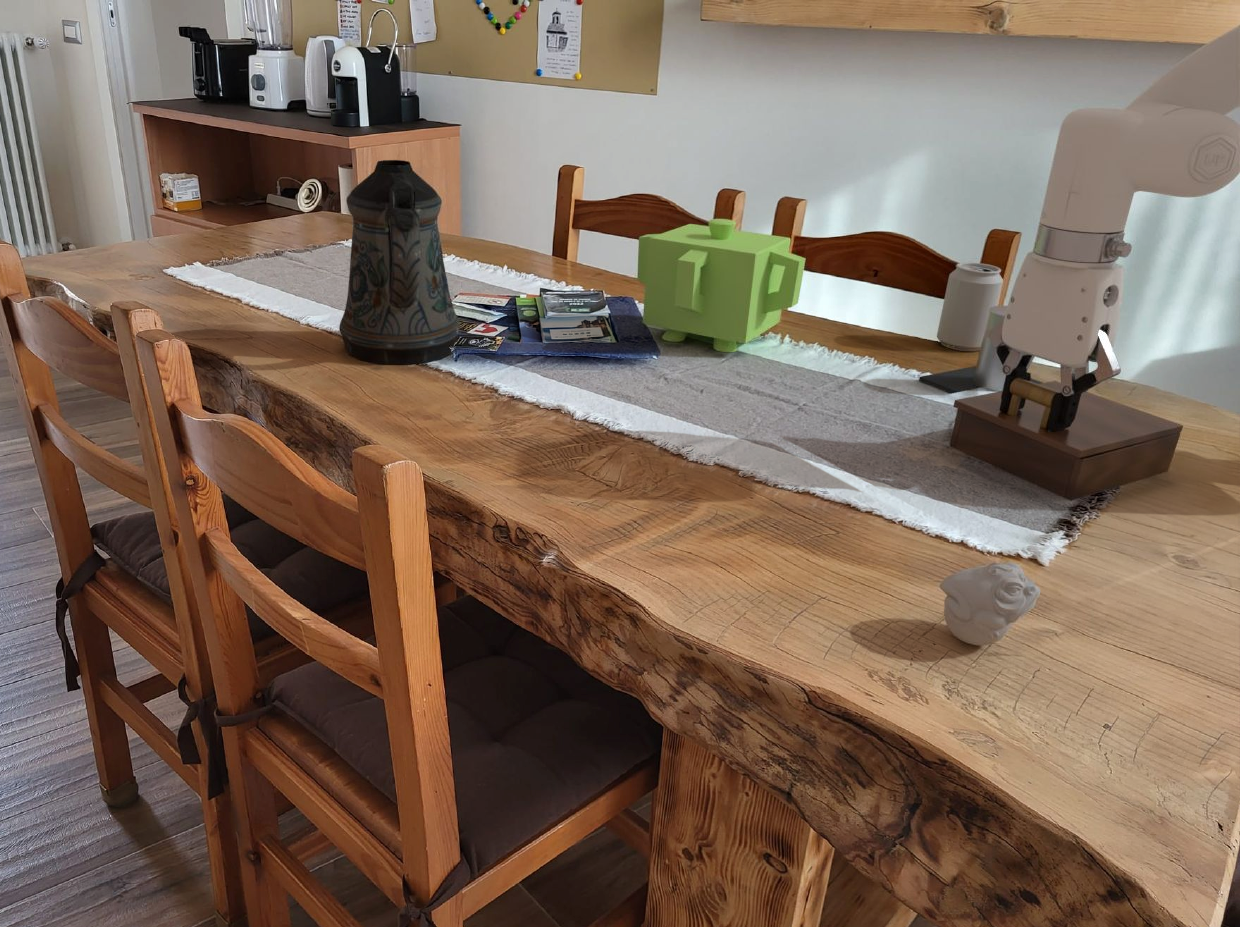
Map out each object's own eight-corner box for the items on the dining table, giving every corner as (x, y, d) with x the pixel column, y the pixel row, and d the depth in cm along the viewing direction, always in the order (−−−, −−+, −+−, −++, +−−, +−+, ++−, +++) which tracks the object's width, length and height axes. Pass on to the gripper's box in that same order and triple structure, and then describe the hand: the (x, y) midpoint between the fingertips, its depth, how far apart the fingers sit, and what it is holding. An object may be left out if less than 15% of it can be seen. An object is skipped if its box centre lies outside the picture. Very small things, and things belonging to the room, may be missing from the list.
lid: (1078, 458, 98) (1092, 412, 96) (953, 406, 110) (962, 365, 108) (1181, 432, 106) (1195, 389, 104) (1053, 386, 118) (1064, 347, 116)
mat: (987, 367, 142) (988, 363, 142) (1075, 398, 131) (1076, 394, 131) (918, 380, 136) (919, 376, 135) (1004, 414, 125) (1005, 410, 124)
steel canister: (992, 375, 137) (1009, 303, 132) (1030, 389, 132) (1049, 315, 128) (962, 381, 134) (979, 308, 130) (1000, 395, 129) (1018, 320, 125)
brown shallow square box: (1069, 507, 101) (1083, 459, 99) (947, 452, 113) (957, 408, 111) (1165, 477, 109) (1181, 432, 107) (1042, 428, 121) (1053, 387, 119)
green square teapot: (814, 333, 154) (832, 219, 146) (761, 372, 136) (777, 245, 129) (668, 307, 165) (677, 199, 157) (601, 339, 148) (607, 220, 140)
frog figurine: (1022, 672, 75) (1045, 593, 72) (925, 649, 77) (944, 571, 74) (1022, 632, 80) (1044, 556, 77) (932, 611, 82) (949, 537, 79)
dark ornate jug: (415, 324, 151) (410, 150, 140) (496, 356, 139) (497, 168, 127) (318, 343, 141) (304, 157, 130) (396, 380, 128) (388, 178, 117)
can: (997, 348, 150) (1016, 268, 145) (967, 355, 146) (985, 274, 141) (955, 335, 156) (972, 258, 150) (925, 342, 152) (941, 263, 147)
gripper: (1184, 259, 92) (1131, 440, 101) (1027, 226, 106) (992, 389, 114) (1134, 267, 89) (1083, 454, 97) (978, 232, 102) (945, 399, 110)
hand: (1034, 417), depth 105 cm, fingers closed on lid, 5 cm apart
